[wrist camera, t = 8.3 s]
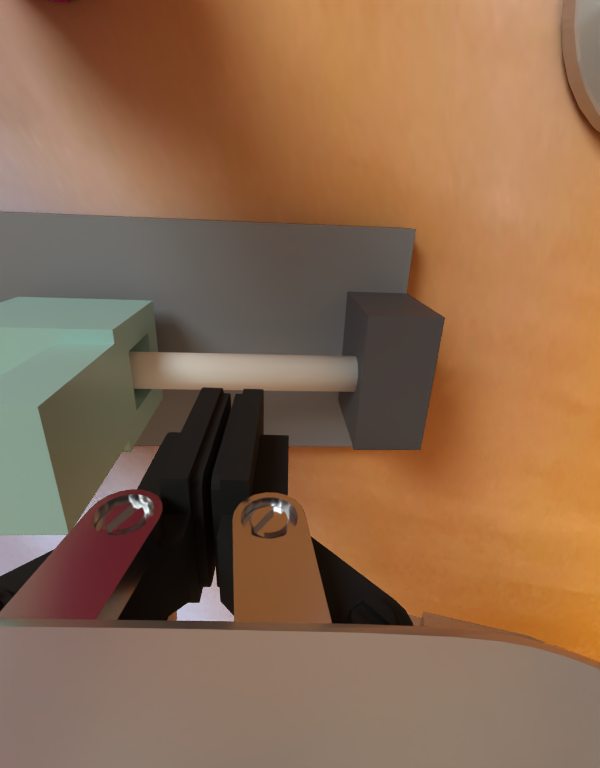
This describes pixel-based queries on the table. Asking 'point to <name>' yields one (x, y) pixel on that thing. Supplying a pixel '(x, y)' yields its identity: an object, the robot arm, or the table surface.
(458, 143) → the table surface
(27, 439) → the sage stepped block
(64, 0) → the pepper mill
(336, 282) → the slider rail fixture
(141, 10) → the table surface
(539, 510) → the table surface
